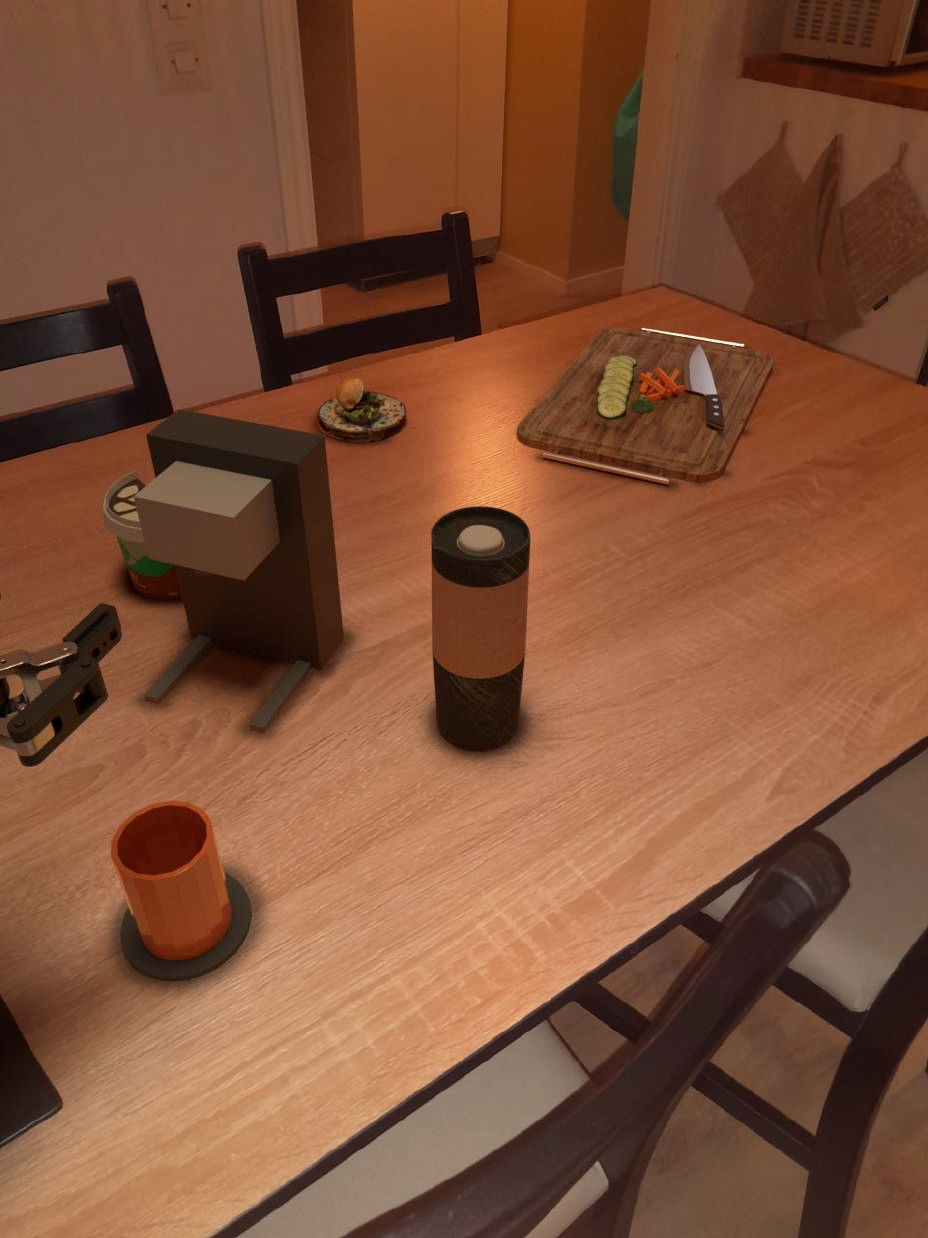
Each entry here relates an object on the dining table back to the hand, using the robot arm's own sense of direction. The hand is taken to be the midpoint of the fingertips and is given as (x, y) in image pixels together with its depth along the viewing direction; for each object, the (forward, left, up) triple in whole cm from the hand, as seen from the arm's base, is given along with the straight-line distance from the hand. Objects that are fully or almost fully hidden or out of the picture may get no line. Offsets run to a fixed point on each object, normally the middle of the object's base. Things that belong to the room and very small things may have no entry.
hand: (51, 599), depth 57 cm
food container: (-25, +27, -26) cm, 45 cm away
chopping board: (+4, +94, -26) cm, 98 cm away
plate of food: (-27, +68, -26) cm, 78 cm away
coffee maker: (-8, +22, -26) cm, 34 cm away
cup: (+6, -2, -25) cm, 26 cm away
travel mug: (+14, +26, -26) cm, 39 cm away
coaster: (+6, -2, -26) cm, 26 cm away
